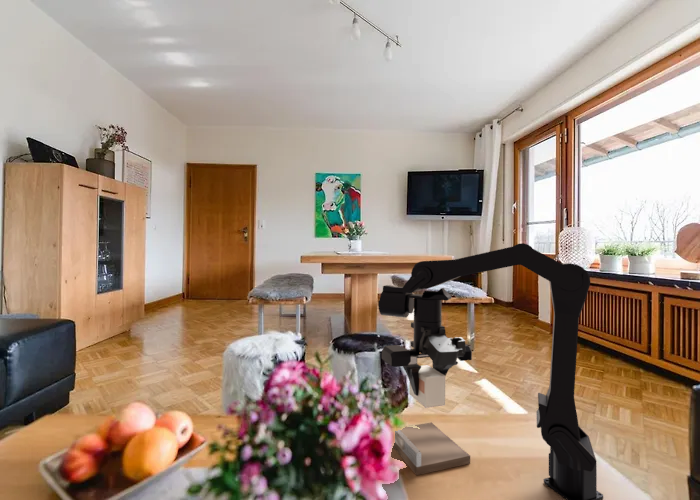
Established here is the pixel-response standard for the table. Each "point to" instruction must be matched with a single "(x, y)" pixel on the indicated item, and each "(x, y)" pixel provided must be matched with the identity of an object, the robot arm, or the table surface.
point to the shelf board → (428, 449)
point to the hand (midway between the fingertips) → (426, 393)
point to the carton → (430, 387)
